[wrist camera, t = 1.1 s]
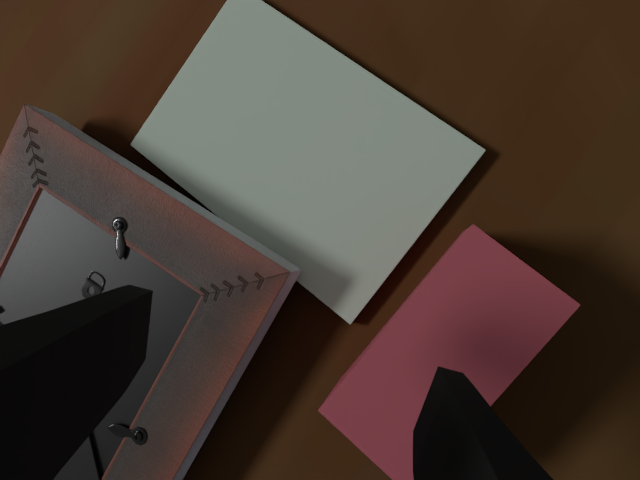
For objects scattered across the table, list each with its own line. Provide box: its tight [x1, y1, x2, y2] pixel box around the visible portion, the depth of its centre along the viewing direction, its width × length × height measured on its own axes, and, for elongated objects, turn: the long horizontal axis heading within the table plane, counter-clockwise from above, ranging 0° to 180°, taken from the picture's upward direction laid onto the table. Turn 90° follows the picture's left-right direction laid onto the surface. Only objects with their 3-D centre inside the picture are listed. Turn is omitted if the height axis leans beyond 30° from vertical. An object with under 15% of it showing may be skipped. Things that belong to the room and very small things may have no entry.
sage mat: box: [130, 0, 486, 324], centre depth 23 cm, size 15×10×1 cm, turn 52°
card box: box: [318, 224, 580, 480], centre depth 19 cm, size 9×4×5 cm, turn 141°
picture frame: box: [0, 104, 302, 480], centre depth 24 cm, size 16×2×22 cm
